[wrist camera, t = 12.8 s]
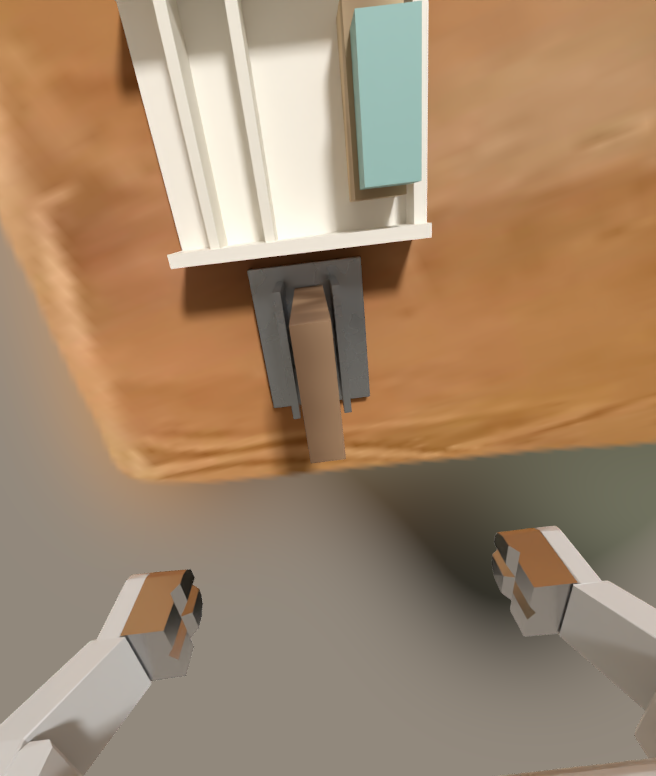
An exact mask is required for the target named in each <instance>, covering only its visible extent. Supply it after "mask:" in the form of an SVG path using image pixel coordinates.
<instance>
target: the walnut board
mask: <svg viewBox="0 0 656 776" xmlns="http://www.w3.org/2000/svg"><path fill="white" fill-rule="evenodd" d="M289 329H290V336H291V342H292V348H293V355H294V361H295V367H296V373H297V380H298V386H299V392H300V398H301V405H302V411H303V417H304V424H305V430H306V436H307V442H308V449H309V455H310V461H311V463H317V462H325V461H333V460H342V459H346V455H345V446H344V437H343V427H342V418H341V409H340V399H339V390H338V381H337V371H336V362H335V353H334V343H333V334H332V325H331V319H330V314H329V310H328V306H327V302H326V298H325V294H324V290H323V285H317V286H309V287H301V288H295V290H294V297H293V303H292V310H291V316H290V323H289Z"/></svg>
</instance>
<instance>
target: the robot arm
mask: <svg viewBox="0 0 656 776" xmlns="http://www.w3.org/2000/svg"><path fill="white" fill-rule="evenodd" d="M494 544H495V546H496V548H497V550H496V551H495V553H493V555H492V569H493V574H494V577H495V580H496V583H497V585H498V587H499V589H500V591H501V593H502V594H504V595H505V596H506V597H508V598H509V599H510V600H511V607H510V611H511V613H512V614H513V617H514V618H515V620H516V622H517V624H518V626H519V628H520V630H521V632H522V634H523V636H524V637H525V636H537V635H549V634H559V636H560V637H561V638H563V639H564V640H565V641H566V642H567V643H568V644H569V645H570V646H572V647H573V648H574V649H575V650H576V651H577V652H578V653H580V654H581V655H582V656H583V657H584V658H585V659H586V660H588V661H589V662H590V663H591V664H592V665H593V666H595V667H596V668H597V669H598V670H599V671H600V672H601V673H603V674H604V675H605V676H606V677H607V678H608V679H609V680H611V681H612V682H613V683H614V684H615V685H617V687H619V688H620V689H621V690H622V691H623V692H624V693H626V694H627V695H628V696H629V697H630V698H631V699H632V700H634V701H635V702H636V703H637V704H638V705H639V706H640V707H642V708H643V709H644V710H645V712H644V714H643V716H642V718H641V719H640V721H639V723H638V725H637V727H636V731H635V735H634V736H635V737H636V739H637V741H638V742H639V744H640V746H641V747H642V749H643V750H644V752H645V753H646V755H647V757H648V759H640V760H631V761H623V762H614V763H605V764H596V765H588V766H580V767H570V768H562V769H553V770H544V771H536V772H527V773H518V774H510V775H501V776H656V608H654V607H653V606H651V605H649V604H648V603H646V602H644V601H642V600H641V599H639V598H637V597H636V596H634V595H632V594H630V593H629V592H627V591H625V590H624V589H622V588H620V587H618V586H617V585H615V584H613V583H612V582H610V581H602V580H601V579H600V578H599V577H598V576H597V574H596V573H595V572H594V571H593V569H592V568H591V567H590V566H589V564H588V563H587V562H586V561H585V559H584V558H583V557H582V556H581V555H580V553H579V552H578V551H577V550H576V548H575V547H574V546H573V545H572V544H571V542H570V541H569V540H568V539H567V537H566V536H565V535H564V534H563V532H562V531H561V530H560V529H559V528H557V527H556V526H548V527H540V528H528V529H521V530H513V531H505V532H498V533H497V534H496V535H495V538H494ZM193 581H194V575H193V573H192V571H191V570H190V569H189V570H178V571H165V572H154V573H144V574H135V575H131V576H130V577H129V578H128V579H127V581H126V582H125V584H124V586H123V588H122V590H121V592H120V594H119V596H118V598H117V600H116V602H115V604H114V606H113V608H112V610H111V612H110V614H109V616H108V618H107V620H106V622H105V624H104V626H103V628H102V630H101V632H100V634H99V636H98V638H97V640H92V641H90V642H88V643H87V644H86V645H85V646H84V647H83V648H82V649H81V650H80V651H79V652H78V653H77V654H76V655H74V656H73V657H72V658H71V659H70V660H69V661H68V662H67V663H66V664H65V665H64V666H63V667H62V668H61V669H59V670H58V672H56V673H55V674H54V675H53V676H52V677H51V678H50V679H49V680H48V681H47V682H46V683H44V684H43V685H42V686H41V687H40V688H39V689H38V690H37V691H36V692H35V693H34V694H33V695H32V696H31V697H29V698H28V699H27V700H26V701H25V702H24V703H23V704H22V705H21V706H20V707H19V708H18V709H17V710H15V711H14V712H13V713H12V714H11V715H10V716H9V717H8V718H7V719H6V720H5V721H4V722H3V723H2V724H0V776H84V774H85V773H86V772H87V770H88V769H89V768H90V766H91V765H92V764H93V762H94V761H95V760H96V758H97V757H98V755H99V754H100V753H101V751H102V750H103V749H104V747H105V746H106V745H107V743H108V742H109V741H110V739H111V738H112V736H113V735H114V734H115V732H116V731H117V729H118V728H119V727H120V726H121V724H122V723H123V722H124V720H125V719H126V717H127V716H128V715H129V713H130V712H131V711H132V709H133V708H134V707H135V705H136V704H137V702H138V701H139V700H140V698H141V697H142V696H143V694H144V693H145V692H146V690H147V689H148V687H149V686H150V685H151V681H154V680H161V679H168V678H175V677H182V676H186V674H187V670H188V667H189V663H190V659H191V655H192V651H193V648H194V646H193V643H192V641H191V636H192V635H193V634H194V633H195V632H196V631H197V629H198V628H199V625H200V621H201V617H202V605H203V603H202V596H201V593H200V590H199V589H198V588H197V587H195V586H194V585H193Z"/></svg>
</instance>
